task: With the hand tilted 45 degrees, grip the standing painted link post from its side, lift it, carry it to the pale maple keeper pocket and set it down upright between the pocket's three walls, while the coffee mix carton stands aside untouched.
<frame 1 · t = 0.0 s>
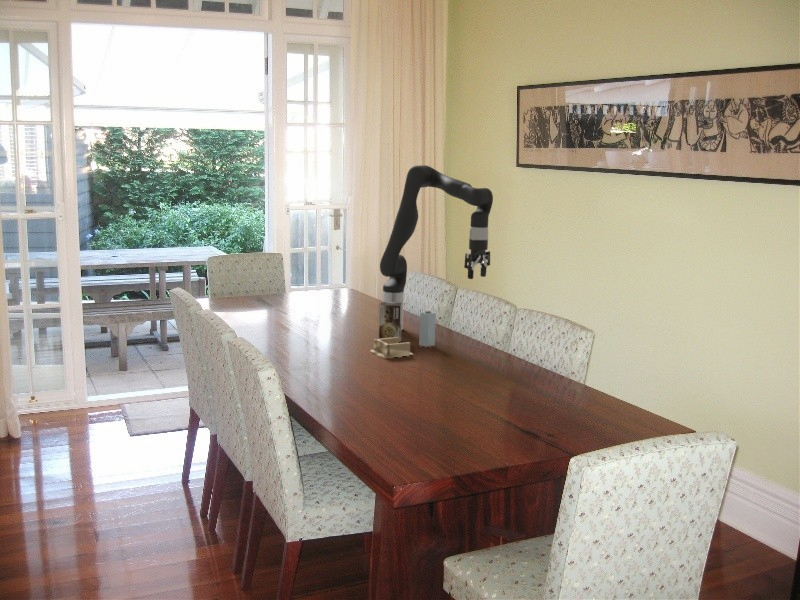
hand: (476, 277, 358), 29 cm above the table, tool pointing down, fingers open, 8 cm apart
keeper pocket: (392, 353, 350), on the table
link post: (426, 345, 365), on the table
coffee box: (389, 341, 371), on the table
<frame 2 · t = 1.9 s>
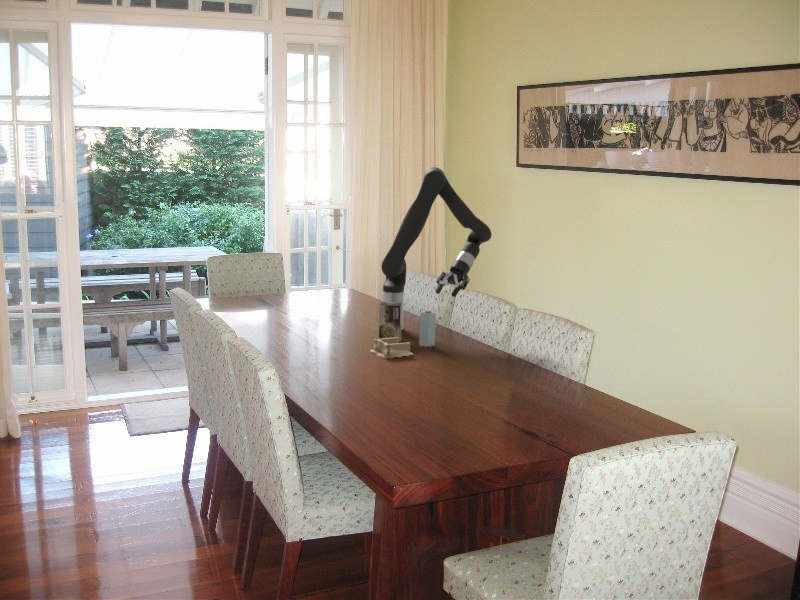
hand: (444, 294, 368), 20 cm above the table, tool tilted 45°, fingers open, 8 cm apart
nothing on the table moved.
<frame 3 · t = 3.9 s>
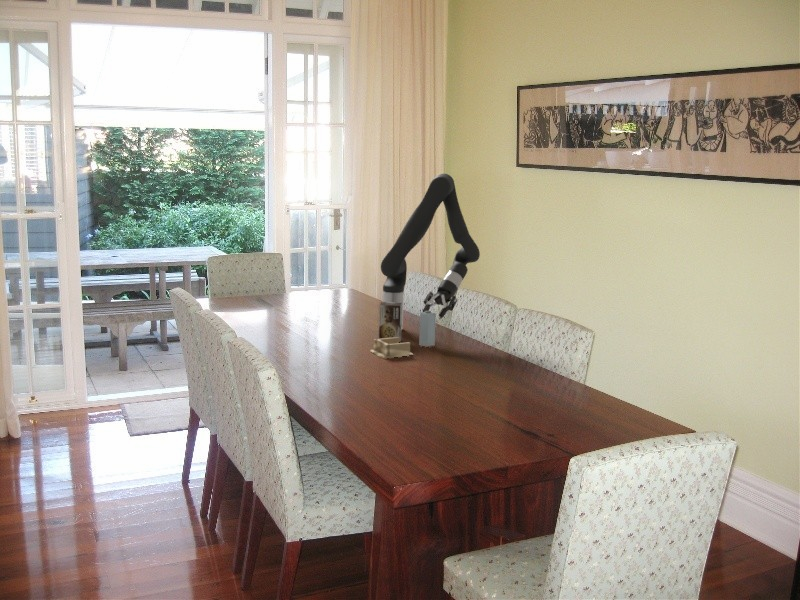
hand: (432, 315, 364), 13 cm above the table, tool tilted 45°, fingers open, 8 cm apart
nothing on the table moved.
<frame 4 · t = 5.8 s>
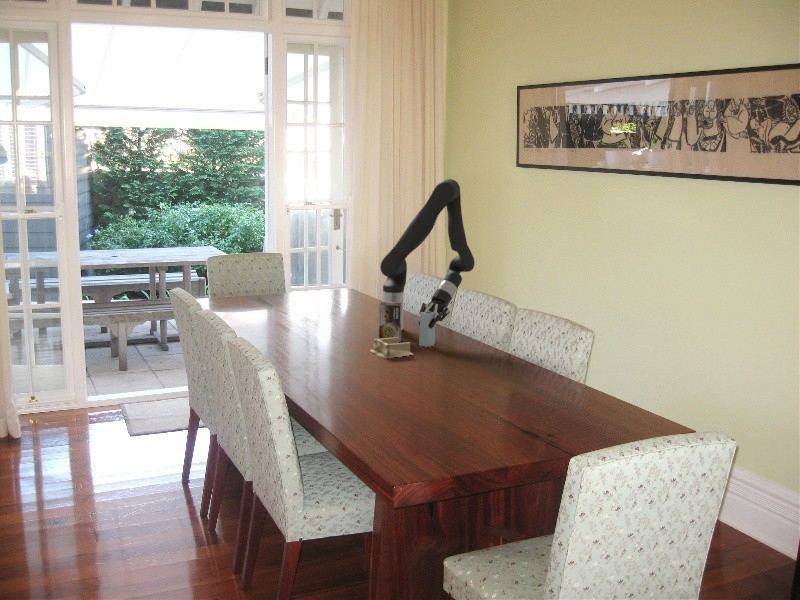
hand: (425, 326, 362), 9 cm above the table, tool tilted 45°, fingers closed on link post, 4 cm apart
link post: (426, 345, 365), on the table, touching gripper
everything else where it was.
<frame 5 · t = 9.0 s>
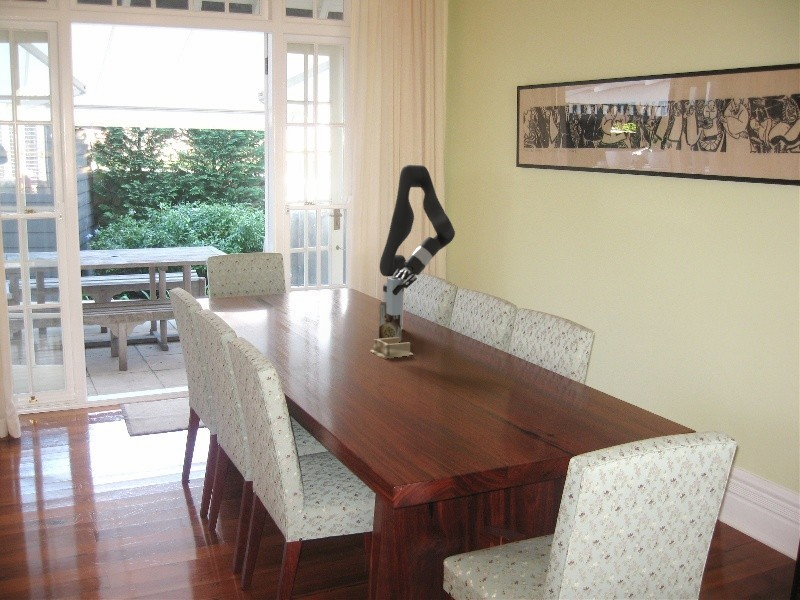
hand: (390, 292, 345), 25 cm above the table, tool tilted 45°, fingers closed on link post, 4 cm apart
link post: (394, 313, 347), point 16 cm above the table, touching gripper
everything else where it was.
when the fingers open (10 cm above the table, at t = 12.1 s): link post stays where it is, resting on keeper pocket.
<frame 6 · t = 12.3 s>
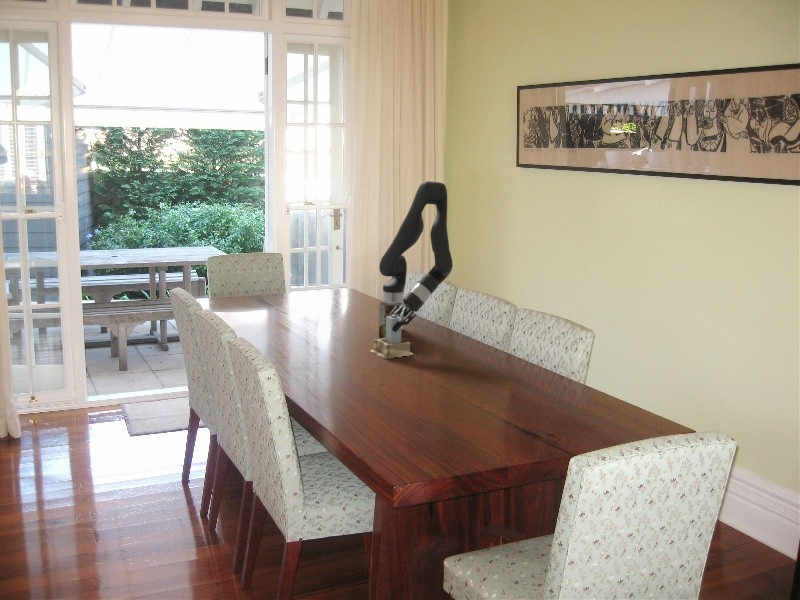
hand: (389, 328, 348), 10 cm above the table, tool tilted 45°, fingers open, 6 cm apart
link post: (392, 351, 350), point 1 cm above the table, touching keeper pocket
everything else where it was.
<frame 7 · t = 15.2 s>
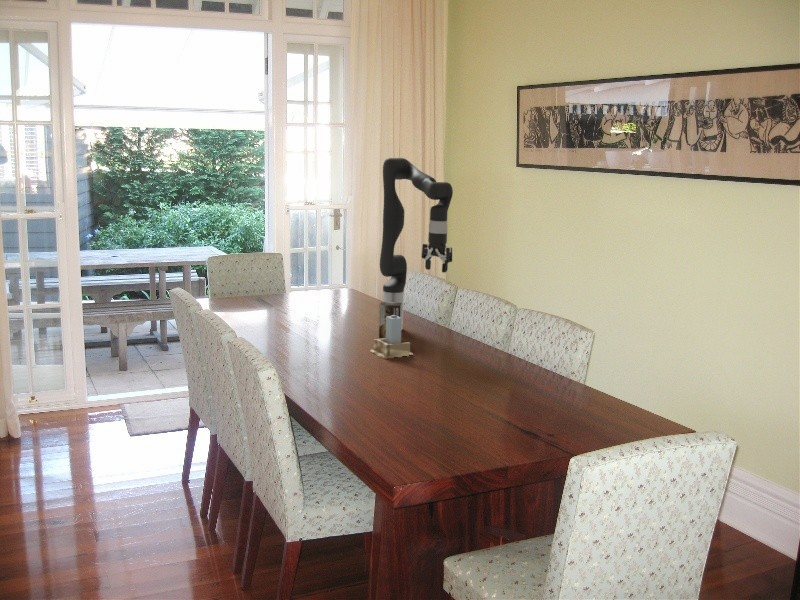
hand: (436, 270, 362), 31 cm above the table, tool pointing down, fingers open, 8 cm apart
nothing on the table moved.
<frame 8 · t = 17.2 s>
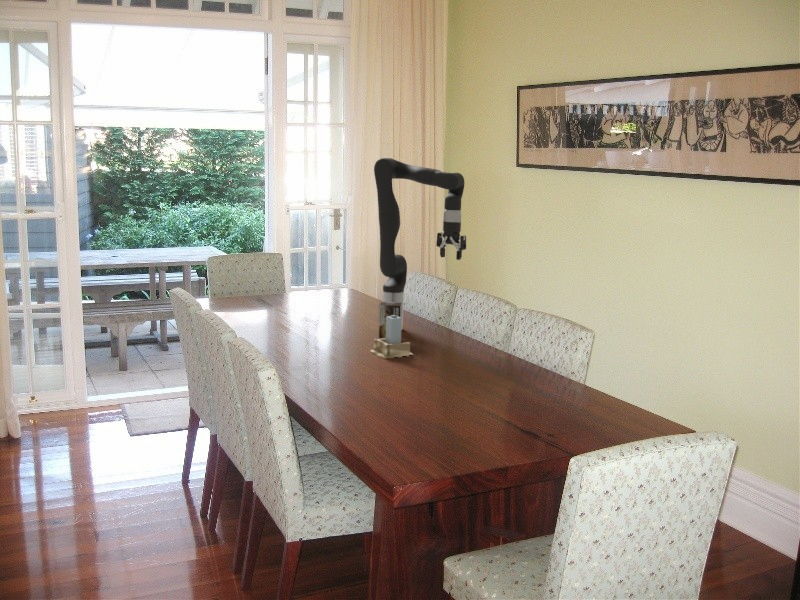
hand: (450, 258, 376), 34 cm above the table, tool pointing down, fingers open, 8 cm apart
nothing on the table moved.
at the end: link post 0.1 cm from the keeper pocket (horizontally); link post tilted 0°; the gripper is holding nothing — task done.
